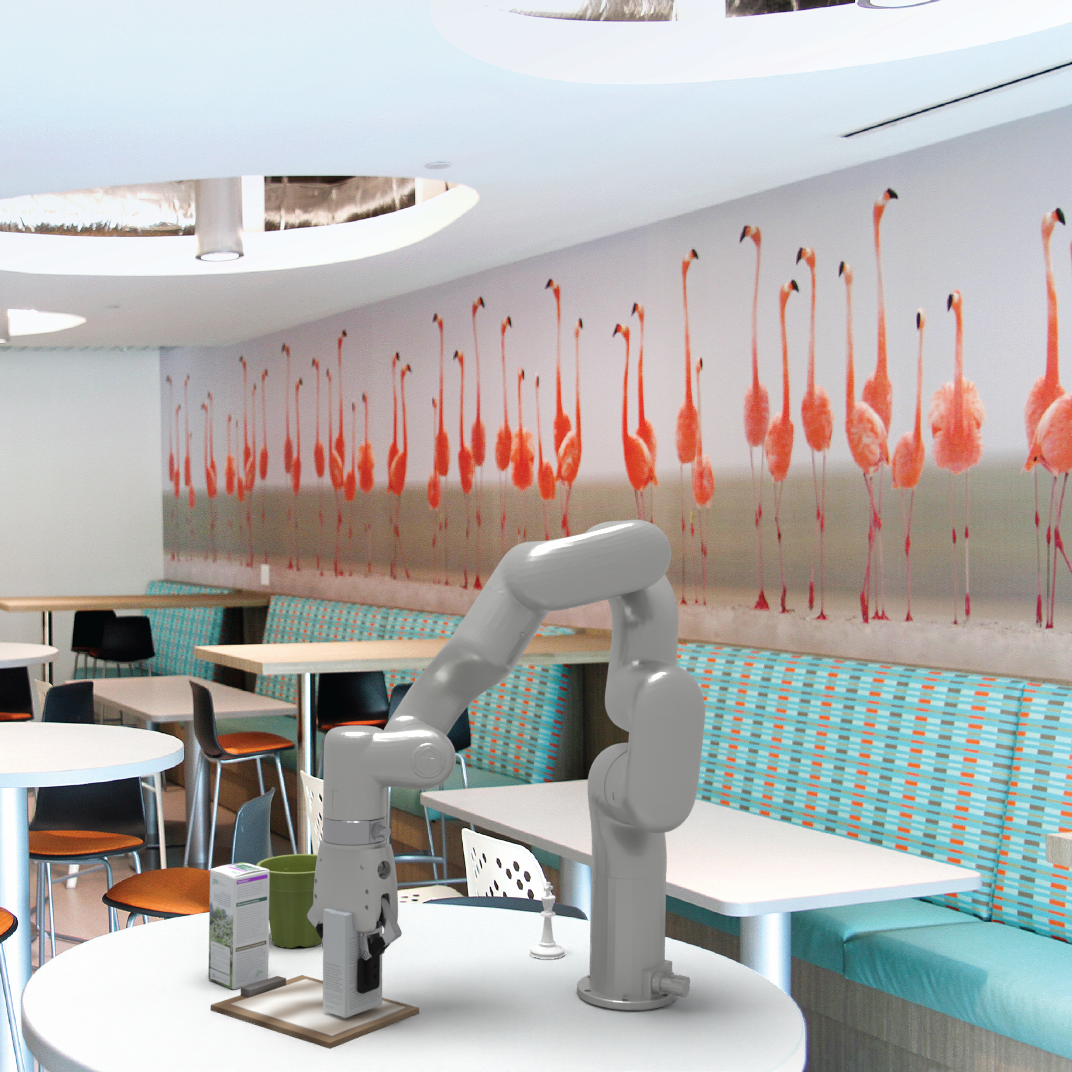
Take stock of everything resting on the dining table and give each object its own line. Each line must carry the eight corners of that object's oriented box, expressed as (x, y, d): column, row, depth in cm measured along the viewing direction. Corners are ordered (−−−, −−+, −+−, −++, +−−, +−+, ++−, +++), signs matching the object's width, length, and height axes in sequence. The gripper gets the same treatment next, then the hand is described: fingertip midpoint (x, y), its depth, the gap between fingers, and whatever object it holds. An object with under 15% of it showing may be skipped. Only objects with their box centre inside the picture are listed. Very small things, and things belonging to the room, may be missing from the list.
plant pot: (270, 928, 192) (272, 851, 192) (348, 933, 190) (350, 856, 190) (241, 951, 180) (243, 869, 180) (324, 956, 178) (326, 874, 179)
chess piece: (571, 953, 182) (572, 881, 182) (552, 961, 178) (554, 888, 178) (541, 947, 185) (542, 876, 185) (522, 955, 181) (524, 883, 181)
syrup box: (270, 981, 167) (272, 867, 168) (230, 991, 163) (233, 874, 163) (244, 971, 171) (247, 860, 172) (205, 980, 167) (208, 867, 167)
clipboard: (418, 1012, 156) (419, 999, 156) (329, 1048, 144) (330, 1033, 144) (301, 979, 168) (302, 967, 168) (210, 1009, 156) (210, 996, 156)
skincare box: (358, 998, 158) (359, 898, 158) (382, 1005, 155) (384, 904, 155) (320, 1011, 153) (321, 908, 153) (345, 1019, 150) (346, 914, 150)
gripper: (429, 835, 153) (427, 992, 152) (326, 818, 162) (323, 965, 162) (386, 845, 146) (384, 1009, 146) (281, 827, 156) (279, 980, 156)
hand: (352, 984), depth 154 cm, fingers closed on skincare box, 4 cm apart
